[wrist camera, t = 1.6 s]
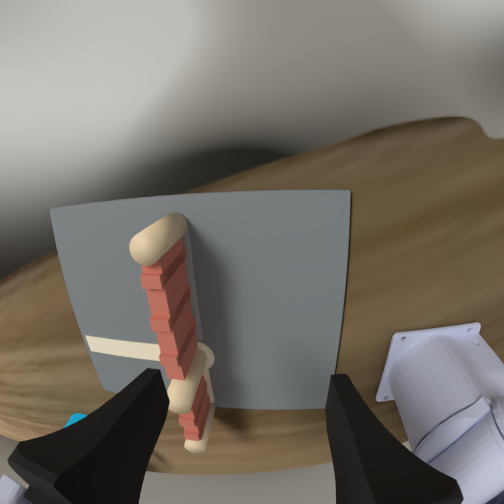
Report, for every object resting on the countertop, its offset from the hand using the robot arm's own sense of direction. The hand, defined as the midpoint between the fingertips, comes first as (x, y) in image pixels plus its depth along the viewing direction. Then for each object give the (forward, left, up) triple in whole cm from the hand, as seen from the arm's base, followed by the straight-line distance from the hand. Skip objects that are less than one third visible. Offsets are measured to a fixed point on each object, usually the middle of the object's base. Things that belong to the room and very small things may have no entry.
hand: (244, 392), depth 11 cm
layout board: (+5, +3, -10) cm, 12 cm away
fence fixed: (+6, +10, -10) cm, 15 cm away
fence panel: (+5, 0, -10) cm, 11 cm away
